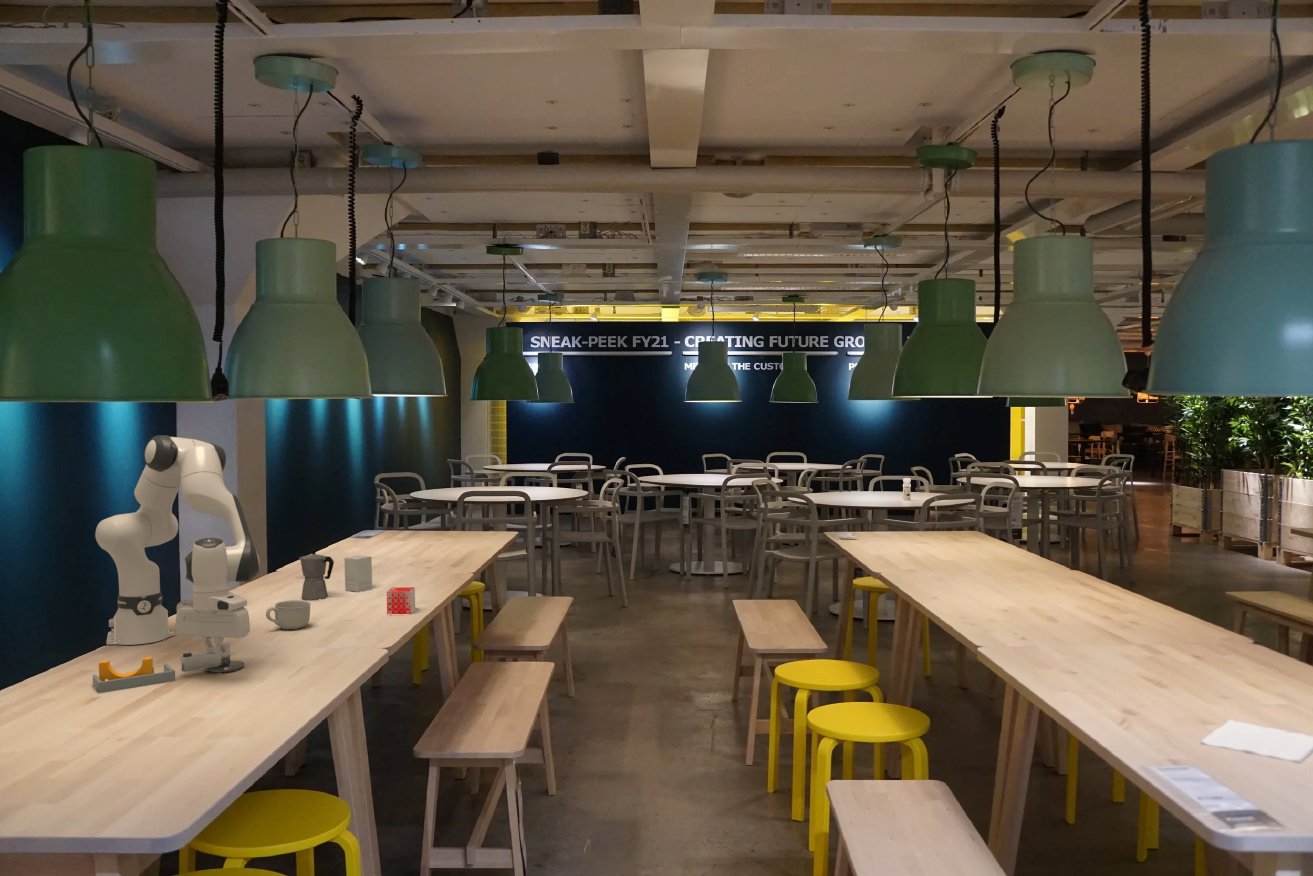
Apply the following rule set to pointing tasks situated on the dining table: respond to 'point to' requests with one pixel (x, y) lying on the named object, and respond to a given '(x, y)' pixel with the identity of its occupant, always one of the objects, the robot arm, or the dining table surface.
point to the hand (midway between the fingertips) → (213, 653)
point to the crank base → (226, 667)
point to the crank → (206, 659)
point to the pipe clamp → (110, 674)
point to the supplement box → (358, 573)
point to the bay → (135, 680)
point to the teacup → (290, 614)
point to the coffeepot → (315, 575)
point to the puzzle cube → (401, 600)
